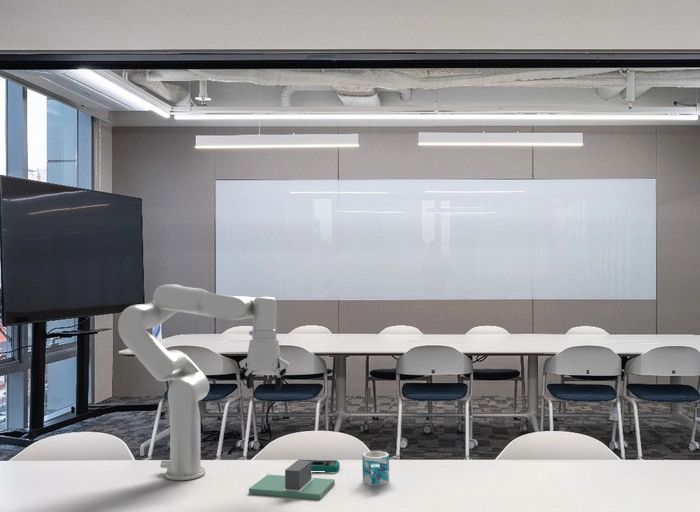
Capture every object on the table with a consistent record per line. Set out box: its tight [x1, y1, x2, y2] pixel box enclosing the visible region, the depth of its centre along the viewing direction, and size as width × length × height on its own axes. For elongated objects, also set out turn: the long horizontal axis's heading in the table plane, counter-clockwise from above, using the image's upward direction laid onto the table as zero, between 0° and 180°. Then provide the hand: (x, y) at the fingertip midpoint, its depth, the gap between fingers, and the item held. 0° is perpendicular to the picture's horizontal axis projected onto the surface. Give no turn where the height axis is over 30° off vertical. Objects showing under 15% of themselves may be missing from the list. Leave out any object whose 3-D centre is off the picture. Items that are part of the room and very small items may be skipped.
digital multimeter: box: [303, 459, 341, 473], centre depth 204 cm, size 7×15×3 cm, turn 85°
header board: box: [248, 474, 336, 501], centre depth 185 cm, size 22×14×5 cm, turn 74°
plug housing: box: [284, 459, 313, 490], centre depth 186 cm, size 4×14×6 cm, turn 164°
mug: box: [361, 450, 390, 486], centre depth 189 cm, size 8×12×8 cm
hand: (264, 388), depth 198 cm, fingers open, 9 cm apart
